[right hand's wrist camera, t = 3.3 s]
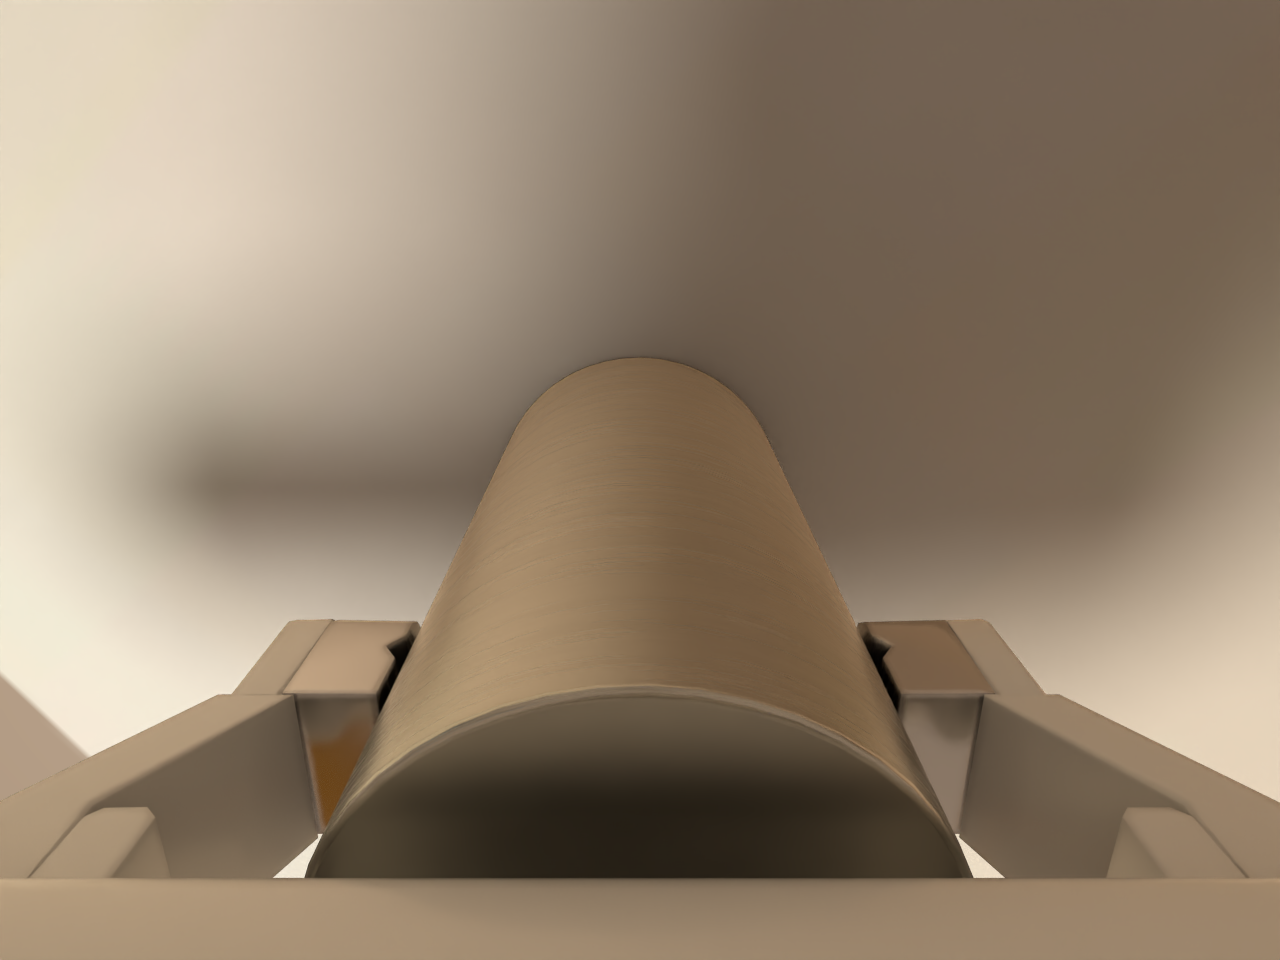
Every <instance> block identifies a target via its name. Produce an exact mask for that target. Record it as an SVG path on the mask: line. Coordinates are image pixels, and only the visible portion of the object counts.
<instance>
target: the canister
mask: <svg viewBox="0 0 1280 960" xmlns="http://www.w3.org/2000/svg"><path fill="white" fill-rule="evenodd" d="M305 878H973V875H972V873H971V871H970V868H969V866H968V863H967V861H966V858H965V856H964V854H963V851H962V849H961V846H960V844H959V842H958V840H957V838H956V836H955V834H954V831H953V829H952V827H951V825H950V823H949V821H948V819H947V817H946V815H945V812H944V810H943V808H942V806H941V804H940V802H939V800H938V798H937V796H936V793H935V791H934V789H933V787H932V785H931V783H930V781H929V779H928V777H927V774H926V772H925V770H924V768H923V766H922V764H921V762H920V760H919V758H918V755H917V753H916V751H915V749H914V747H913V745H912V743H911V741H910V739H909V736H908V734H907V732H906V730H905V728H904V726H903V724H902V722H901V720H900V717H899V715H898V713H897V711H896V709H895V707H894V705H893V703H892V701H891V699H890V696H889V694H888V692H887V690H886V688H885V686H884V684H883V682H882V680H881V677H880V675H879V673H878V671H877V669H876V667H875V665H874V663H873V661H872V658H871V656H870V654H869V652H868V650H867V648H866V646H865V644H864V642H863V639H862V637H861V635H860V633H859V631H858V629H857V627H856V625H855V623H854V620H853V618H852V616H851V614H850V612H849V610H848V608H847V606H846V604H845V601H844V599H843V597H842V595H841V593H840V591H839V589H838V587H837V585H836V582H835V580H834V578H833V576H832V574H831V572H830V570H829V568H828V566H827V564H826V561H825V559H824V557H823V555H822V553H821V551H820V549H819V547H818V545H817V542H816V540H815V538H814V536H813V534H812V532H811V530H810V528H809V526H808V523H807V521H806V519H805V517H804V515H803V513H802V511H801V509H800V507H799V504H798V502H797V500H796V498H795V496H794V494H793V492H792V490H791V488H790V485H789V483H788V481H787V479H786V477H785V475H784V473H783V471H782V469H781V466H780V464H779V462H778V460H777V458H776V456H775V454H774V452H773V450H772V448H771V445H770V443H769V441H768V439H767V437H766V435H765V433H764V431H763V429H762V427H761V426H760V424H759V422H758V421H757V419H756V417H755V416H754V414H753V413H752V412H751V411H750V410H749V408H748V407H747V406H746V405H745V403H744V402H743V401H742V400H741V399H740V398H739V397H738V396H737V395H735V394H734V393H733V392H732V391H731V390H730V389H729V388H727V387H726V386H725V385H723V384H722V383H720V382H719V381H718V380H716V379H715V378H713V377H711V376H709V375H707V374H705V373H703V372H701V371H699V370H697V369H694V368H692V367H689V366H686V365H684V364H681V363H677V362H672V361H668V360H663V359H654V358H644V357H641V358H622V359H616V360H610V361H604V362H601V363H598V364H595V365H591V366H588V367H585V368H583V369H581V370H579V371H577V372H574V373H572V374H570V375H568V376H567V377H565V378H564V379H562V380H560V381H559V382H557V383H556V384H554V385H553V386H552V387H550V388H549V389H548V390H547V391H546V392H544V393H543V394H542V395H541V396H540V397H539V398H538V399H537V400H536V401H535V402H534V403H533V404H532V406H531V407H530V408H529V409H528V410H527V411H526V413H525V414H524V416H523V417H522V419H521V420H520V422H519V423H518V425H517V427H516V429H515V431H514V433H513V435H512V437H511V439H510V441H509V443H508V445H507V447H506V449H505V451H504V454H503V456H502V458H501V460H500V462H499V464H498V466H497V468H496V470H495V472H494V475H493V477H492V479H491V481H490V483H489V485H488V487H487V489H486V491H485V494H484V496H483V498H482V500H481V502H480V504H479V506H478V508H477V510H476V512H475V515H474V517H473V519H472V521H471V523H470V525H469V527H468V529H467V531H466V534H465V536H464V538H463V540H462V542H461V544H460V546H459V548H458V550H457V552H456V555H455V557H454V559H453V561H452V563H451V565H450V567H449V569H448V571H447V574H446V576H445V578H444V580H443V582H442V584H441V586H440V588H439V590H438V593H437V595H436V597H435V599H434V601H433V603H432V605H431V607H430V609H429V611H428V614H427V616H426V618H425V620H424V622H423V624H422V626H421V628H420V630H419V633H418V635H417V637H416V639H415V641H414V643H413V645H412V647H411V649H410V651H409V654H408V656H407V658H406V660H405V662H404V664H403V666H402V668H401V670H400V673H399V675H398V677H397V679H396V681H395V683H394V685H393V687H392V689H391V691H390V694H389V696H388V698H387V700H386V702H385V704H384V706H383V708H382V710H381V713H380V715H379V717H378V719H377V721H376V723H375V725H374V727H373V729H372V732H371V734H370V736H369V738H368V740H367V742H366V744H365V746H364V748H363V750H362V753H361V755H360V757H359V759H358V761H357V763H356V765H355V767H354V769H353V772H352V774H351V776H350V778H349V780H348V782H347V784H346V786H345V788H344V790H343V793H342V795H341V797H340V799H339V801H338V803H337V805H336V807H335V809H334V812H333V814H332V816H331V818H330V820H329V822H328V824H327V826H326V828H325V830H324V833H323V835H322V837H321V839H320V841H319V843H318V845H317V847H316V849H315V852H314V854H313V856H312V858H311V860H310V862H309V864H308V868H307V871H306V874H305Z"/></svg>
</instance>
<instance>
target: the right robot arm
mask: <svg viewBox="0 0 1280 960" xmlns="http://www.w3.org/2000/svg"><path fill="white" fill-rule="evenodd" d="M420 628H421V627H420V625H419V624H418V622H417V621H367V620H336V621H335V620H333V619H317V620H295V621H290V622H288V623H287V624H286V626H285V627H284V628H283V629H282V631H281V632H280V633H279V635H278V636H277V637H276V638H275V640H274V641H273V642H272V643H271V645H270V646H269V647H268V649H267V650H266V651H265V652H264V654H263V655H262V656H261V657H260V659H259V660H258V661H257V663H256V664H255V665H254V666H253V668H252V669H251V670H250V671H249V673H248V674H247V675H246V677H245V678H244V679H243V680H242V682H241V683H240V684H239V685H238V687H237V688H236V689H235V691H234V692H233V693H232V694H222V695H216V696H214V697H212V698H210V699H208V700H206V701H204V702H202V703H200V704H198V705H196V706H194V707H192V708H189V709H187V710H185V711H183V712H181V713H179V714H177V715H175V716H173V717H171V718H169V719H167V720H165V721H163V722H161V723H159V724H157V725H155V726H153V727H151V728H148V729H146V730H144V731H142V732H140V733H138V734H136V735H134V736H132V737H130V738H128V739H126V740H124V741H122V742H120V743H118V744H116V745H114V746H112V747H109V748H107V749H105V750H103V751H101V752H99V753H97V754H95V755H93V756H91V757H89V758H87V759H85V760H83V761H81V762H79V763H77V764H75V765H73V766H71V767H68V768H67V769H64V770H62V771H60V772H58V773H56V774H54V775H52V776H50V777H48V778H46V779H44V780H42V781H40V782H38V783H36V784H34V785H32V786H30V787H27V788H25V789H23V790H21V791H19V792H17V793H15V794H13V795H11V796H9V797H7V798H5V799H3V800H1V801H0V960H1280V803H1279V802H1277V801H1275V800H1273V799H1271V798H1269V797H1267V796H1265V795H1263V794H1261V793H1259V792H1257V791H1255V790H1253V789H1251V788H1249V787H1247V786H1245V785H1243V784H1241V783H1239V782H1237V781H1235V780H1232V779H1230V778H1228V777H1226V776H1224V775H1222V774H1220V773H1218V772H1216V771H1214V770H1212V769H1210V768H1208V767H1206V766H1204V765H1202V764H1200V763H1198V762H1196V761H1194V760H1192V759H1190V758H1188V757H1186V756H1184V755H1182V754H1179V753H1177V752H1175V751H1173V750H1171V749H1169V748H1167V747H1165V746H1163V745H1161V744H1159V743H1157V742H1155V741H1153V740H1151V739H1149V738H1147V737H1145V736H1143V735H1141V734H1139V733H1137V732H1135V731H1133V730H1131V729H1128V728H1126V727H1124V726H1122V725H1120V724H1118V723H1116V722H1114V721H1112V720H1110V719H1108V718H1106V717H1104V716H1102V715H1100V714H1098V713H1096V712H1094V711H1092V710H1090V709H1088V708H1086V707H1084V706H1082V705H1080V704H1078V703H1075V702H1073V701H1071V700H1069V699H1067V698H1065V697H1063V696H1061V695H1056V694H1045V693H1044V691H1043V690H1042V689H1041V688H1040V686H1039V685H1038V684H1037V682H1036V681H1035V680H1034V679H1033V677H1032V676H1031V675H1030V674H1029V672H1028V671H1027V670H1026V668H1025V667H1024V666H1023V665H1022V663H1021V662H1020V661H1019V660H1018V658H1017V657H1016V656H1015V654H1014V653H1013V652H1012V651H1011V649H1010V648H1009V647H1008V646H1007V644H1006V643H1005V642H1004V640H1003V639H1002V638H1001V637H1000V635H999V634H998V633H997V631H996V630H995V629H994V628H993V626H992V625H991V624H990V623H989V622H987V621H985V620H983V619H968V620H929V621H888V622H863V623H858V626H857V629H858V631H859V633H860V635H861V637H862V639H863V642H864V644H865V646H866V648H867V650H868V652H869V654H870V656H871V658H872V661H873V663H874V665H875V667H876V669H877V671H878V673H879V675H880V677H881V680H882V682H883V684H884V686H885V688H886V690H887V692H888V694H889V696H890V699H891V701H892V703H893V705H894V707H895V709H896V711H897V713H898V715H899V717H900V720H901V722H902V724H903V726H904V728H905V730H906V732H907V734H908V736H909V739H910V741H911V743H912V745H913V747H914V749H915V751H916V753H917V755H918V758H919V760H920V762H921V764H922V766H923V768H924V770H925V772H926V774H927V777H928V779H929V781H930V783H931V785H932V787H933V789H934V791H935V793H936V796H937V798H938V800H939V802H940V804H941V806H942V808H943V810H944V812H945V815H946V817H947V819H948V821H949V823H950V825H951V827H952V829H953V831H954V834H960V836H959V837H960V838H961V839H962V840H963V841H964V842H965V843H966V844H968V845H969V846H970V847H971V848H972V849H973V850H974V851H975V852H977V853H978V854H979V855H980V856H981V857H982V858H983V859H985V860H986V861H987V862H988V863H989V864H990V865H991V866H992V867H994V868H995V869H996V870H997V871H998V872H999V873H1000V874H1001V875H1003V876H1004V877H1005V878H273V877H274V876H275V875H276V874H277V873H279V872H280V871H281V870H282V869H283V868H284V867H285V866H287V865H288V864H289V863H290V862H291V861H292V860H293V859H295V858H296V857H297V856H298V855H299V854H300V853H301V852H302V851H304V850H305V849H306V848H307V847H308V846H309V845H310V844H312V843H313V842H314V841H315V840H316V839H317V838H318V834H323V833H324V830H325V828H326V826H327V824H328V822H329V820H330V818H331V816H332V814H333V812H334V809H335V807H336V805H337V803H338V801H339V799H340V797H341V795H342V793H343V790H344V788H345V786H346V784H347V782H348V780H349V778H350V776H351V774H352V772H353V769H354V767H355V765H356V763H357V761H358V759H359V757H360V755H361V753H362V750H363V748H364V746H365V744H366V742H367V740H368V738H369V736H370V734H371V732H372V729H373V727H374V725H375V723H376V721H377V719H378V717H379V715H380V713H381V710H382V708H383V706H384V704H385V702H386V700H387V698H388V696H389V694H390V691H391V689H392V687H393V685H394V683H395V681H396V679H397V677H398V675H399V673H400V670H401V668H402V666H403V664H404V662H405V660H406V658H407V656H408V654H409V651H410V649H411V647H412V645H413V643H414V641H415V639H416V637H417V635H418V633H419V630H420Z"/></svg>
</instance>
